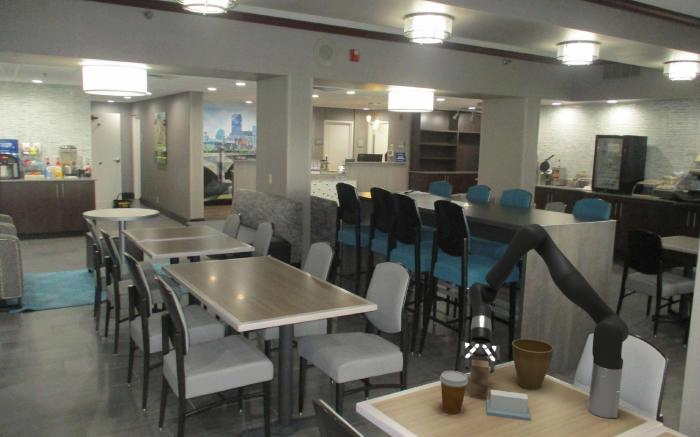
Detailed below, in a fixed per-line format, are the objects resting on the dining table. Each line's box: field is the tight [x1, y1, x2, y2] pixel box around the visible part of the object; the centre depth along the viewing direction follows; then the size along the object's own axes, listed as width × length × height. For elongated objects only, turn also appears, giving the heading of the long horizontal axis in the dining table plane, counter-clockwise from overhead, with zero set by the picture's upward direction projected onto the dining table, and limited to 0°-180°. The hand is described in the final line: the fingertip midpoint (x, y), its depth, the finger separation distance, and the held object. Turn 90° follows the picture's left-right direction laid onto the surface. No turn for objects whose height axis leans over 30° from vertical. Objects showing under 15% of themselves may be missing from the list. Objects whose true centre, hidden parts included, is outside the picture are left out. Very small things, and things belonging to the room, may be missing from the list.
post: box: [468, 359, 490, 401], centre depth 200 cm, size 6×6×12 cm
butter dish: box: [485, 389, 532, 421], centre depth 189 cm, size 14×10×6 cm
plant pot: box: [511, 338, 555, 390], centre depth 210 cm, size 15×15×16 cm
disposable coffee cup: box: [439, 370, 469, 414], centre depth 188 cm, size 10×10×12 cm
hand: (479, 370), depth 201 cm, fingers open, 8 cm apart
